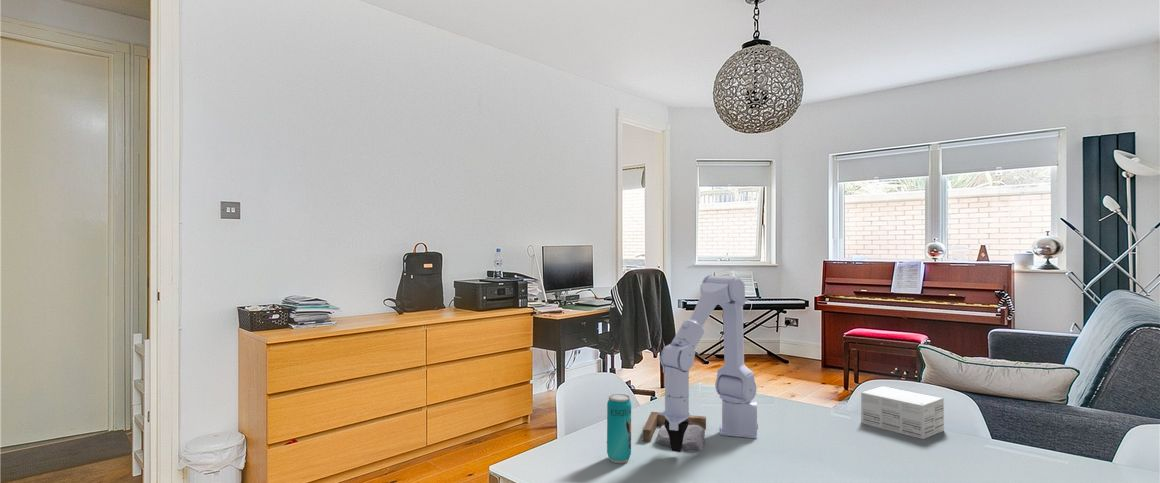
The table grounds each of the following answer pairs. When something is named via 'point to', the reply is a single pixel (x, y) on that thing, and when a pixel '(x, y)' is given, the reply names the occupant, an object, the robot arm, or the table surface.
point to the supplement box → (903, 411)
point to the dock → (660, 419)
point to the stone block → (685, 437)
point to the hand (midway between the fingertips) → (676, 450)
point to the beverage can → (619, 428)
